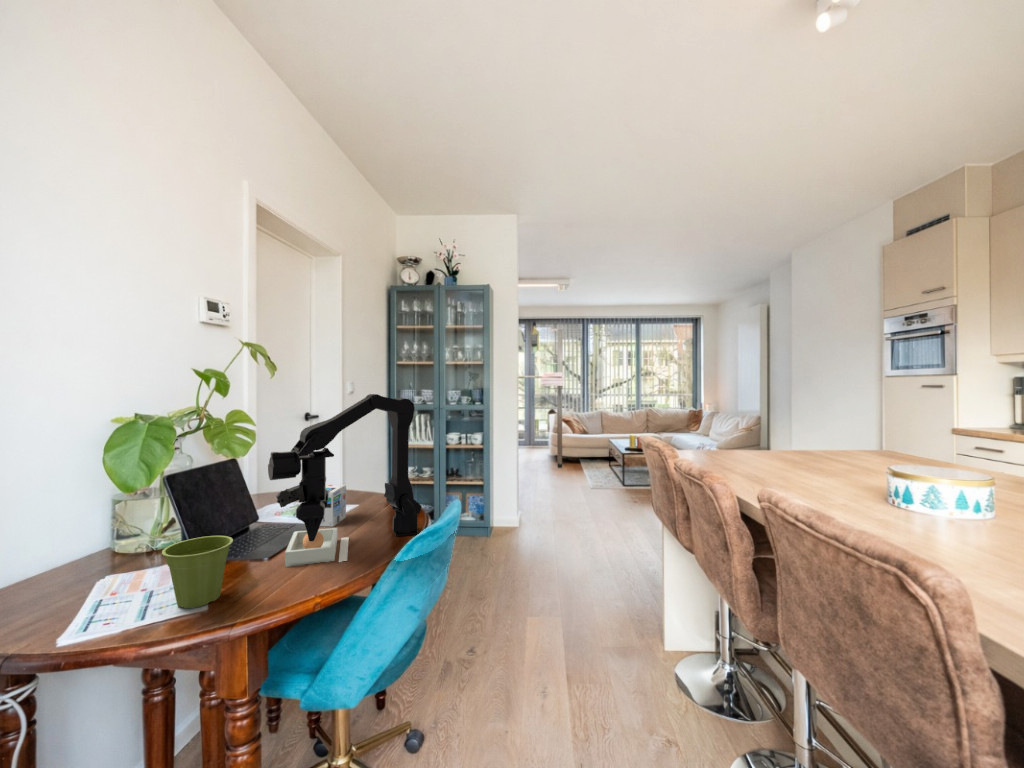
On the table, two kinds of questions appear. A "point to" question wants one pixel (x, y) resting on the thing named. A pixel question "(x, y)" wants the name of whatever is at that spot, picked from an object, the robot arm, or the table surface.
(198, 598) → the plant pot
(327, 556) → the tray
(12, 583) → the table surface
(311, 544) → the ball
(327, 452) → the robot arm
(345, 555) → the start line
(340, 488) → the light bulb box
